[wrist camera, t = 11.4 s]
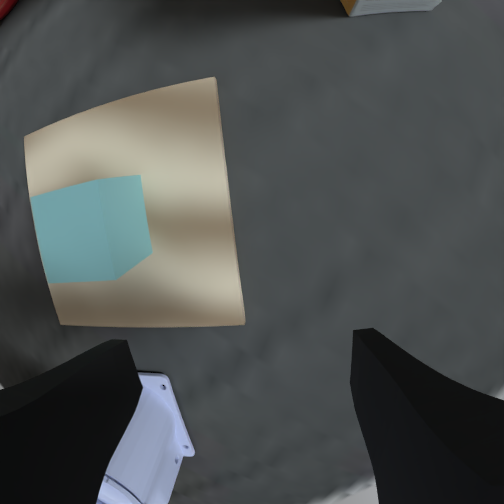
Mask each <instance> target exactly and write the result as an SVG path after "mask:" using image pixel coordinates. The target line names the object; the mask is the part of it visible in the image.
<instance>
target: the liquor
mask: <svg viewBox="0 0 504 504" xmlns="http://www.w3.org/2000/svg"><path fill="white" fill-rule="evenodd" d="M17 1H18V0H0V20H2V19H3V18H4V17H5V16H6V15H7V14H8V13H9V12H10V11H11V10H12V9H13V7H14V6H15V5H16V3H17Z"/></svg>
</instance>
